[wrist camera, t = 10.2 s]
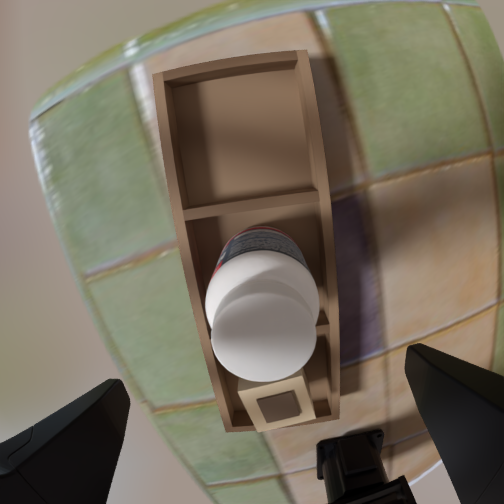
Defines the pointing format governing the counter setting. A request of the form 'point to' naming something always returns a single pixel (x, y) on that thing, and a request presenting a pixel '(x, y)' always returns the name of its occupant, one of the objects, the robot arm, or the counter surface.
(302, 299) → the pill bottle
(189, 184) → the bay tray
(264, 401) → the tan hollow cube
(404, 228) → the counter surface
